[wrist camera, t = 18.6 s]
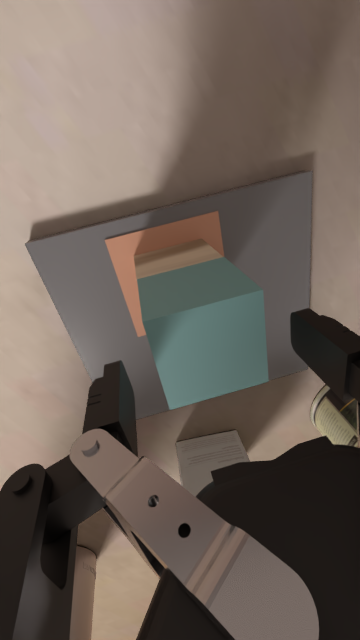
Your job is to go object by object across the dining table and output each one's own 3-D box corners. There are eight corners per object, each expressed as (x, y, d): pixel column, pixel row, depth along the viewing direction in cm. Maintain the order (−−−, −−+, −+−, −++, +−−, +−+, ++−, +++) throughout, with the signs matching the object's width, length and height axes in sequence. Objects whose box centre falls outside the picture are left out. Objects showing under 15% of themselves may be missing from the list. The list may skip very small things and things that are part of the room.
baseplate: (114, 418, 28) (113, 427, 27) (29, 240, 19) (23, 244, 18) (302, 363, 29) (308, 370, 28) (304, 170, 20) (313, 170, 19)
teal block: (158, 351, 18) (169, 410, 13) (136, 279, 15) (142, 322, 11) (233, 331, 18) (268, 381, 14) (224, 256, 16) (263, 289, 11)
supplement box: (173, 440, 31) (201, 588, 20) (237, 428, 32) (297, 562, 21) (178, 480, 35) (204, 624, 24) (235, 468, 36) (286, 601, 25)
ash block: (133, 255, 20) (136, 279, 15) (201, 238, 20) (223, 257, 16) (151, 316, 22) (158, 352, 18) (211, 300, 22) (233, 331, 18)
